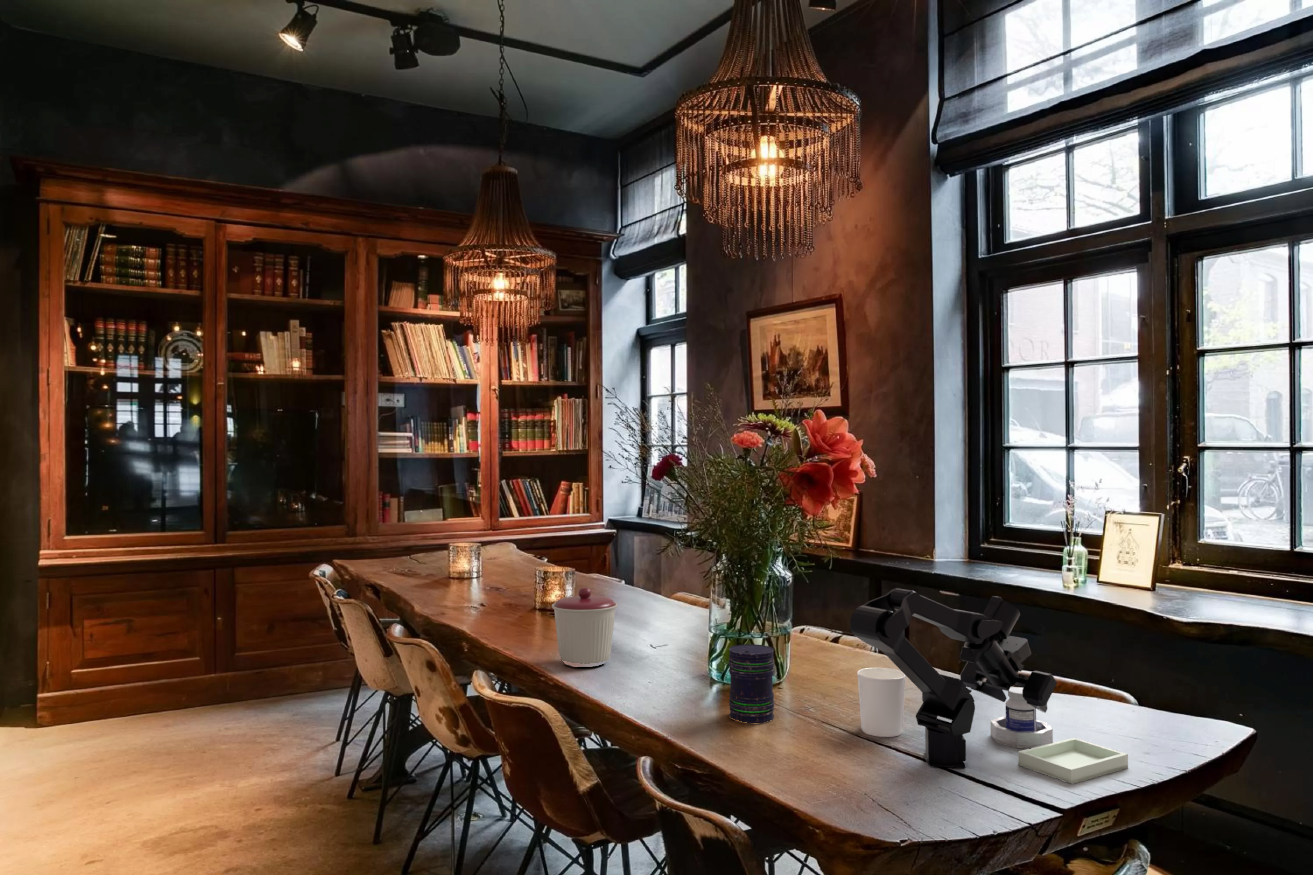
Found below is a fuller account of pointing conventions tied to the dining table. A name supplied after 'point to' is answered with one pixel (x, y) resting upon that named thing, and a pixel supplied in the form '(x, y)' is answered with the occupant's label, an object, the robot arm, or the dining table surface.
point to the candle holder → (881, 701)
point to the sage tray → (1073, 760)
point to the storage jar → (751, 683)
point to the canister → (584, 627)
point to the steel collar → (1021, 734)
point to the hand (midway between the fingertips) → (1024, 705)
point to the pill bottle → (1019, 712)
